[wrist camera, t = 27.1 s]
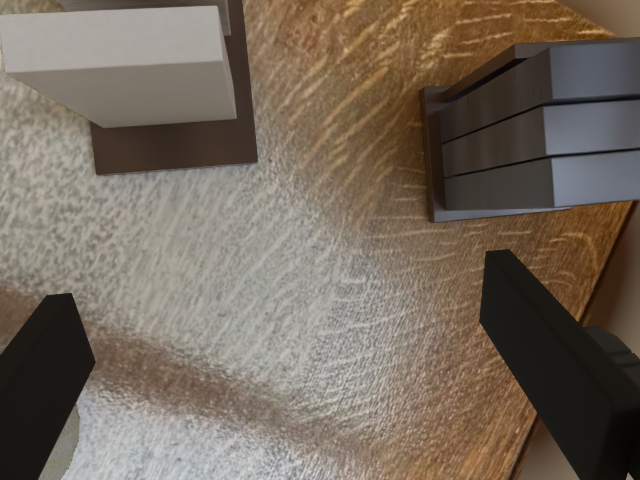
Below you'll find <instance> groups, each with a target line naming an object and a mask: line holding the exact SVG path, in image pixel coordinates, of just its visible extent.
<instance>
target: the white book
mask: <svg viewBox="0 0 640 480" xmlns="http://www.w3.org/2000/svg"><path fill="white" fill-rule="evenodd" d="M0 42H1V50H2V57H3V65H4V72H5V73H6V74H8V75H10V76H12V77H13V78H15V79H17V80H19V81H21V82H22V83H24V84H26V85H28V86H29V87H31V88H33V89H35V90H37V91H38V92H40V93H42V94H44V95H45V96H47V97H49V98H51V99H53V100H54V101H56V102H58V103H60V104H61V105H63V106H65V107H67V108H69V109H70V110H72V111H74V112H76V113H77V114H79V115H81V116H83V117H85V118H86V119H88V120H90V121H92V122H93V123H95V124H97V125H99V126H101V127H102V128H114V127H129V126H143V125H157V124H172V123H186V122H200V121H215V120H229V119H236V118H237V116H236V106H235V96H234V86H233V81H232V76H231V71H230V66H229V61H228V56H227V51H226V46H225V41H224V36H223V31H222V26H221V21H220V16H219V11H218V7H217V6H192V7H168V8H145V9H121V10H98V11H74V12H50V13H27V14H3V15H0Z"/></svg>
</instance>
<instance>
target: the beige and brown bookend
mask: <svg viewBox="0 0 640 480" xmlns="http://www.w3.org/2000/svg"><path fill="white" fill-rule="evenodd" d="M57 1H58V2H59V3H60V4H61V5H62V6H63V8H64V9H65V10H66V11H67V12H74V11H98V10H121V9H145V8H168V7H192V6H217V7H218V11H219V16H220V21H221V26H222V31H223V36H224V41H225V46H226V51H227V56H228V61H229V66H230V71H231V76H232V81H233V86H234V96H235V106H236V116H237V118H236V119H229V120H215V121H200V122H186V123H172V124H157V125H143V126H129V127H114V128H102V127H101V126H99V125H97V124H95V123H93V122H92V121H90V126H91V135H92V143H93V152H94V160H95V168H96V175H99V176H109V175H122V174H134V173H147V172H159V171H172V170H184V169H197V168H209V167H222V166H234V165H247V164H257V163H258V155H257V145H256V135H255V125H254V115H253V105H252V95H251V85H250V75H249V65H248V55H247V44H246V34H245V24H244V14H243V4H242V0H57Z"/></svg>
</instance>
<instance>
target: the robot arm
mask: <svg viewBox="0 0 640 480" xmlns="http://www.w3.org/2000/svg"><path fill="white" fill-rule="evenodd" d="M479 322H480V323H481V325H482V327H483V328H484V330H485V331H486V333H487V334H488V336H489V338H490V339H491V341H492V342H493V344H494V345H495V347H496V349H497V350H498V352H499V353H500V355H501V356H502V358H503V360H504V361H505V363H506V364H507V366H508V367H509V369H510V371H511V372H512V374H513V375H514V377H515V378H516V380H517V382H518V383H519V385H520V386H521V388H522V389H523V391H524V393H525V394H526V396H527V397H528V399H529V400H530V402H531V404H532V405H533V407H534V408H535V410H536V411H537V413H538V415H539V416H540V418H541V419H542V421H543V422H544V424H545V425H546V427H547V428H548V430H549V432H550V433H551V435H552V436H553V438H554V440H555V441H556V443H557V444H558V446H559V447H560V449H561V451H562V452H563V454H564V455H565V457H566V458H567V460H568V461H569V463H570V465H571V466H572V468H573V469H574V471H575V472H576V474H577V476H578V477H579V479H580V480H626V477H627V474H628V472H629V474H630V475H631V476H632V478H633V479H634V480H640V359H639V358H638V357H637V356H636V355H635V354H634V353H631V350H630V349H629V348H628V347H627V346H626V345H625V344H624V343H623V342H622V341H621V340H620V339H619V338H618V337H617V336H615V335H613V334H611V333H609V332H608V331H606V330H604V329H602V328H601V327H599V326H593V327H584V328H583V327H582V326H581V325H580V324H579V323H578V322H577V321H576V320H575V319H574V317H573V316H572V315H571V314H570V313H569V312H568V311H567V310H566V309H565V308H564V307H563V306H562V305H561V304H560V303H559V302H558V300H557V299H556V298H555V297H554V296H553V295H552V294H551V293H550V292H549V291H548V290H547V289H546V288H545V287H544V286H543V285H542V283H541V282H540V281H539V280H538V279H537V278H536V277H535V276H534V275H533V274H532V273H531V272H530V271H529V270H528V269H527V268H526V266H525V265H524V264H523V263H522V262H521V261H520V260H519V259H518V258H517V257H516V256H515V255H514V254H513V253H512V252H511V251H510V249H505V250H495V251H486V256H485V267H484V277H483V287H482V297H481V308H480V318H479ZM95 363H96V361H95V359H94V356H93V353H92V350H91V347H90V344H89V341H88V338H87V336H86V333H85V330H84V327H83V324H82V321H81V318H80V315H79V313H78V310H77V307H76V304H75V301H74V298H73V295H72V293H65V294H55V295H46V297H45V298H44V299H43V300H42V302H41V303H40V304H39V306H38V307H37V308H36V310H35V311H34V312H33V313H32V315H31V316H30V317H29V319H28V320H27V321H26V323H25V324H24V325H23V326H22V328H21V329H20V330H19V332H18V333H17V334H16V336H15V337H14V338H13V339H12V341H11V342H10V343H9V345H8V346H7V347H6V349H5V350H4V351H3V353H2V354H1V355H0V480H38V479H39V477H40V475H41V473H42V471H43V469H44V467H45V465H46V463H47V461H48V459H49V457H50V454H51V452H52V450H53V448H54V446H55V444H56V442H57V440H58V438H59V436H60V434H61V432H62V430H63V428H64V426H65V424H66V422H67V420H68V418H69V416H70V414H71V412H72V410H73V408H74V406H75V404H76V401H77V399H78V397H79V395H80V393H81V391H82V389H83V387H84V385H85V383H86V381H87V379H88V377H89V375H90V373H91V371H92V369H93V367H94V365H95Z"/></svg>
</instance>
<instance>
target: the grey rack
mask: <svg viewBox="0 0 640 480" xmlns="http://www.w3.org/2000/svg"><path fill="white" fill-rule="evenodd" d="M420 103H421V116H422V129H423V141H424V154H425V167H426V180H427V192H428V205H429V218H430V223H439V222H449V221H459V220H470V219H480V218H490V217H500V216H510V215H521V214H531V213H541V212H551V211H561V210H570V209H571V207H573V206H583V205H594V204H604V203H614V202H624V201H635V200H640V37H633V38H614V39H596V40H577V41H559V42H540V43H522V44H513V45H512V46H510V47H509V48H507V49H506V50H504V51H503V52H502V53H500V54H499V55H497V56H496V57H494V58H493V59H491V60H490V61H488V62H487V63H485V64H484V65H482V66H481V67H479V68H478V69H476V70H475V71H473V72H472V73H470V74H469V75H467V76H466V77H464V78H463V79H461V80H460V81H458V82H457V83H455V84H454V85H449V86H434V87H424V88H422V89H421V90H420Z"/></svg>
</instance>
